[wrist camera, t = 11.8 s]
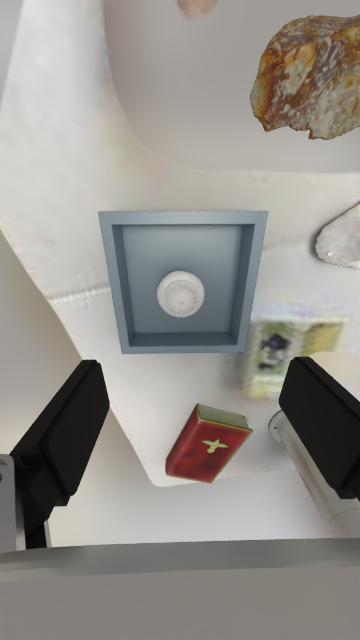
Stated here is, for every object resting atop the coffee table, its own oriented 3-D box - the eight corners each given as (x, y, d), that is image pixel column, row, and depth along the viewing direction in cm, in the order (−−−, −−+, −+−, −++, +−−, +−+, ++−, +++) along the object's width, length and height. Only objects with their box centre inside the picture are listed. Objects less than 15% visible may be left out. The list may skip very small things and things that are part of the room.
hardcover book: (165, 457, 47) (164, 476, 43) (196, 401, 38) (198, 419, 35) (208, 465, 48) (211, 484, 45) (246, 414, 40) (253, 432, 37)
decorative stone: (431, 104, 16) (255, 152, 19) (386, 127, 20) (246, 165, 23) (489, -97, 12) (254, 0, 15) (419, -18, 16) (242, 48, 19)
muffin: (153, 273, 26) (145, 285, 19) (195, 260, 25) (201, 269, 19) (166, 312, 28) (164, 334, 22) (205, 301, 28) (213, 321, 21)
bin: (250, 215, 24) (268, 210, 19) (234, 335, 31) (244, 352, 27) (113, 216, 24) (98, 211, 19) (129, 336, 31) (121, 353, 26)
